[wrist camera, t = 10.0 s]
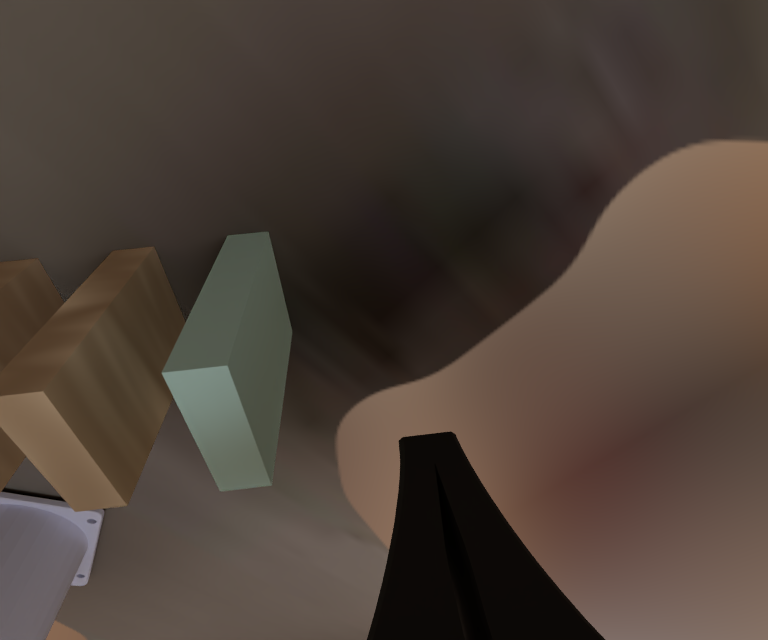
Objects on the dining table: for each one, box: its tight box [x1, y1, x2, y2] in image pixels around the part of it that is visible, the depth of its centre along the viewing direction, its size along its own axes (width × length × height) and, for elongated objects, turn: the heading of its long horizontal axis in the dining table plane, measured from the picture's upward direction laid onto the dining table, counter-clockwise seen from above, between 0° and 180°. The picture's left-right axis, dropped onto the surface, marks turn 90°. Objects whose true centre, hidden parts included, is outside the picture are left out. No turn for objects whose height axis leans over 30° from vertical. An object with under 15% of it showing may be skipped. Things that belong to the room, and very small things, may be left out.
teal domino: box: [162, 232, 292, 492], centre depth 15 cm, size 2×5×8 cm, turn 3°
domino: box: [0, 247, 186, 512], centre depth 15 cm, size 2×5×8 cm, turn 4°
